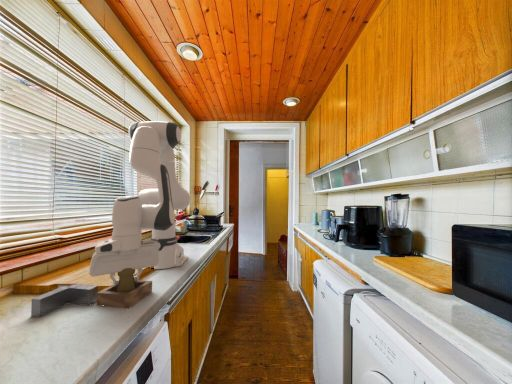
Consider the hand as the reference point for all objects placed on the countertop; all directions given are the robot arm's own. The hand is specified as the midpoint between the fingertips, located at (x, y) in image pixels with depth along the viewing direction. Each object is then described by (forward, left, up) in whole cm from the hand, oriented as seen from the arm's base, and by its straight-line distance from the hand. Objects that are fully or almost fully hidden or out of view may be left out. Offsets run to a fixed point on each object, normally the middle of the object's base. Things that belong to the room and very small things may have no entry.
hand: (126, 283), depth 73 cm
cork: (0, 0, -5) cm, 5 cm away
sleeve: (0, 0, -5) cm, 5 cm away
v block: (+7, -15, -5) cm, 17 cm away
